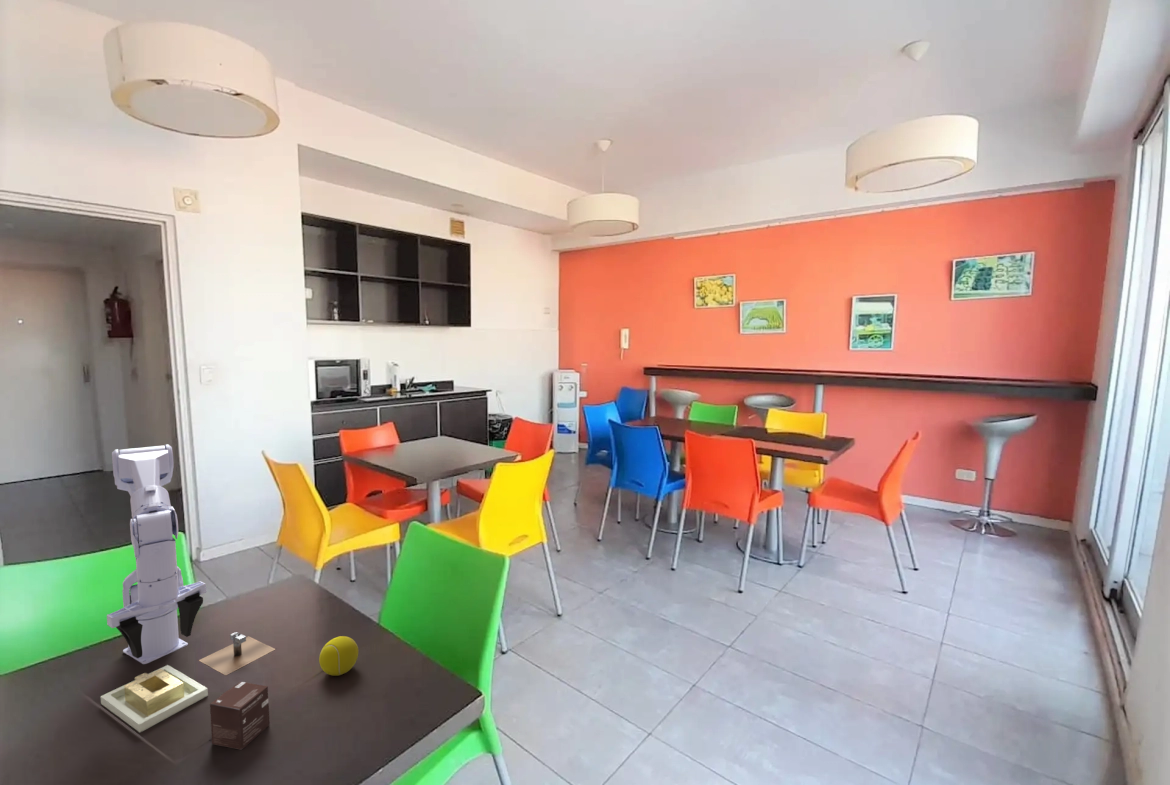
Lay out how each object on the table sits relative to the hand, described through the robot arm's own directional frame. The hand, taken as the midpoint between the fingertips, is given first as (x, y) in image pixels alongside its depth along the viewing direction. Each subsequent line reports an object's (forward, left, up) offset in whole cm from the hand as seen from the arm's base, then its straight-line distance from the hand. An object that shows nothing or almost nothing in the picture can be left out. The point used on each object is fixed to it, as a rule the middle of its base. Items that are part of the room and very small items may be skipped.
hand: (162, 644), depth 96 cm
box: (+23, +1, -10) cm, 25 cm away
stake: (0, +13, -10) cm, 16 cm away
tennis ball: (+23, +20, -10) cm, 32 cm away
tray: (+1, -2, -10) cm, 10 cm away
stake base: (0, +13, -10) cm, 16 cm away
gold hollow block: (+1, -2, -9) cm, 10 cm away
